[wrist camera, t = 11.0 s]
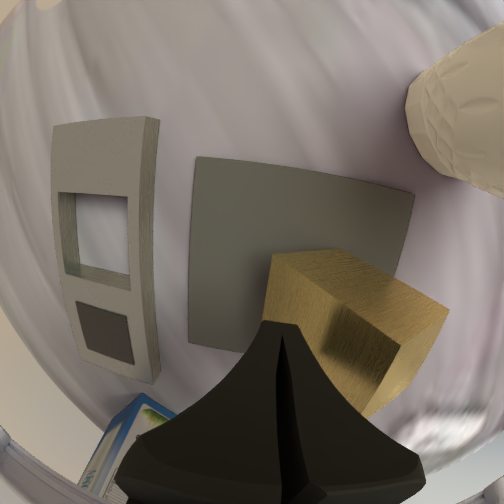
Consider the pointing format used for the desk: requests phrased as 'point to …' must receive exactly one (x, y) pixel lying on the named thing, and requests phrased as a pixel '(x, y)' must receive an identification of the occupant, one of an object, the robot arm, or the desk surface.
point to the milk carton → (120, 446)
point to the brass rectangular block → (354, 322)
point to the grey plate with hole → (139, 241)
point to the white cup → (463, 112)
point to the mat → (276, 236)
